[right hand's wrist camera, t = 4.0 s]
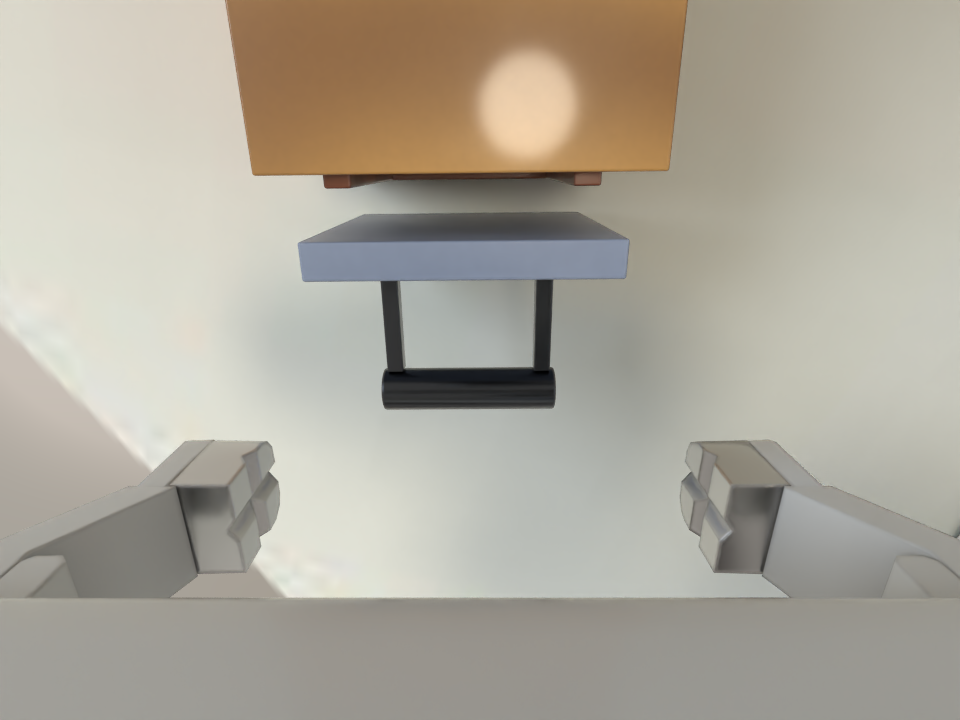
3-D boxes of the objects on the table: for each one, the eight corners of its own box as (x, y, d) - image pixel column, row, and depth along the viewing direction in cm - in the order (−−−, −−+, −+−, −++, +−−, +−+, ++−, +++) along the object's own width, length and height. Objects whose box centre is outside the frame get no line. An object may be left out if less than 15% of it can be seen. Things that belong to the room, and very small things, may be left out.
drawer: (571, 351, 26) (611, 441, 18) (375, 353, 26) (323, 443, 18) (607, -313, 18) (720, -748, 9) (317, -307, 18) (165, -730, 9)
